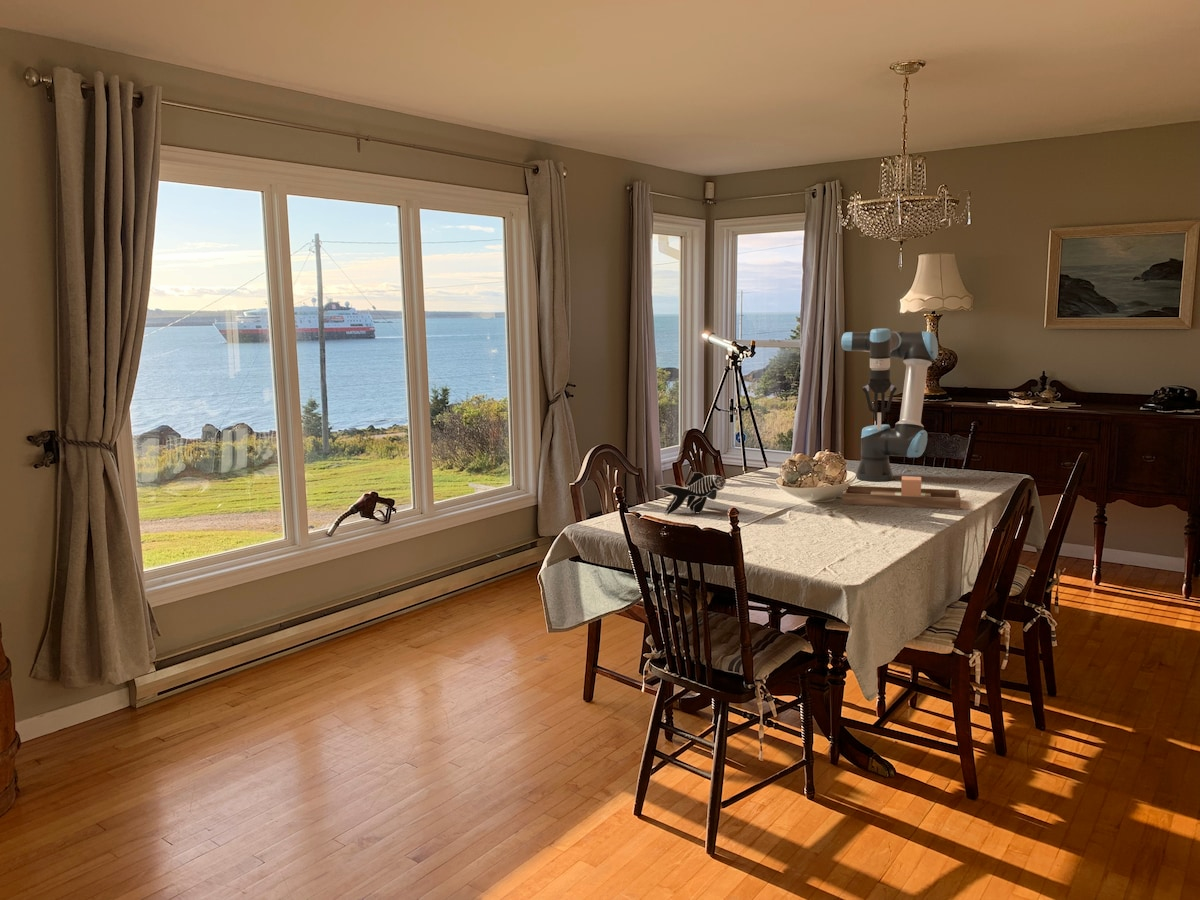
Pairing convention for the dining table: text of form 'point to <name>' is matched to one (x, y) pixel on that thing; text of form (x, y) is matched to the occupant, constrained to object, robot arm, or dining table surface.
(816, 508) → the dining table surface
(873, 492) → the trap box
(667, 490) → the decorative fish
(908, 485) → the block
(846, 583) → the dining table surface
